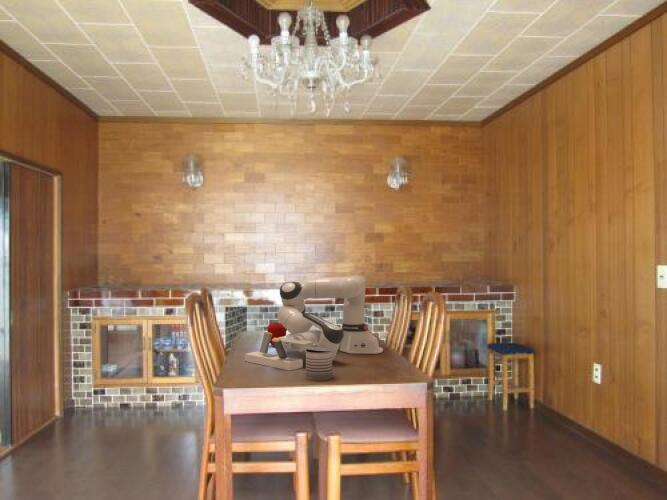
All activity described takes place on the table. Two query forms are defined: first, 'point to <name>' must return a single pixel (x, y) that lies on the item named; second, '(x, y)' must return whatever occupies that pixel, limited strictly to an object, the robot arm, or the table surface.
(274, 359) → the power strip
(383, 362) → the table surface
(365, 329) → the robot arm
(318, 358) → the can
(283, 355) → the black rocker
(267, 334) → the grey rocker
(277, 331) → the red rounded lump
